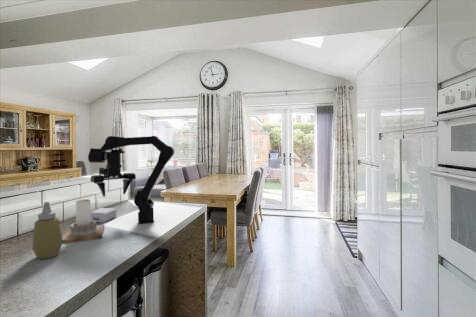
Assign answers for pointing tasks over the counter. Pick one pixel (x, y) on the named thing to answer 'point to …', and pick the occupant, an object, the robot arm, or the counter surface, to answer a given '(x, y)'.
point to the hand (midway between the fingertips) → (114, 195)
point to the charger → (103, 214)
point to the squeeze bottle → (47, 234)
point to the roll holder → (83, 232)
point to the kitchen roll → (83, 212)
